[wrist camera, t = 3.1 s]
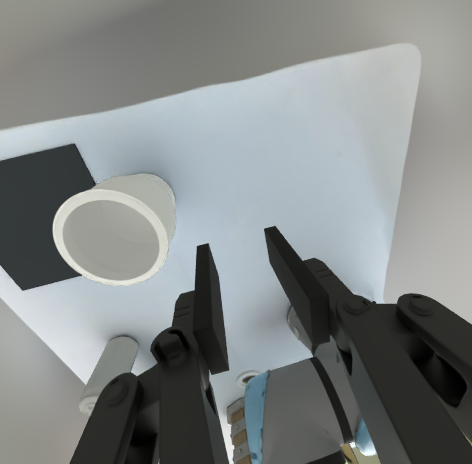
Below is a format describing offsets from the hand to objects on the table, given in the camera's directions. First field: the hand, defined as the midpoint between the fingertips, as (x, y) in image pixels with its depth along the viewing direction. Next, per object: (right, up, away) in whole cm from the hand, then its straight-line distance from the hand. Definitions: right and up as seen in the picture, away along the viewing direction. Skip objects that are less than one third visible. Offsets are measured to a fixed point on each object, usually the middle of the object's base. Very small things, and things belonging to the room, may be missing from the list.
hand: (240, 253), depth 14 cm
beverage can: (-25, -23, +32) cm, 47 cm away
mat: (-30, +2, +19) cm, 36 cm away
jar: (-14, +7, +20) cm, 26 cm away
